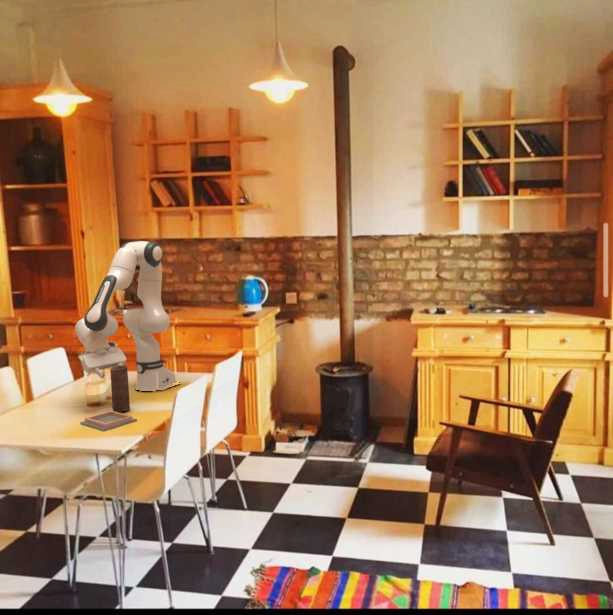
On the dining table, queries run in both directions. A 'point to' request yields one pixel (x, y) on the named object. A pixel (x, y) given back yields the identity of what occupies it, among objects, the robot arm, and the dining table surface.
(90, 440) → the dining table surface
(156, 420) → the dining table surface
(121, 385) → the candle
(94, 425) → the plate
